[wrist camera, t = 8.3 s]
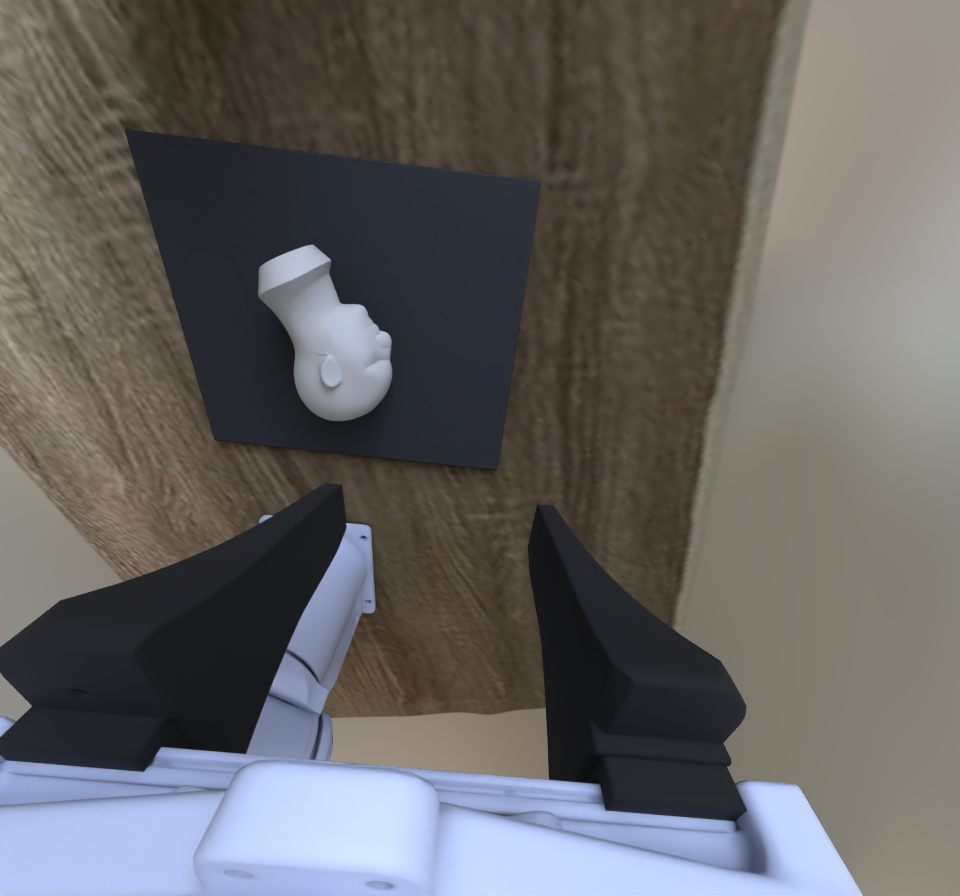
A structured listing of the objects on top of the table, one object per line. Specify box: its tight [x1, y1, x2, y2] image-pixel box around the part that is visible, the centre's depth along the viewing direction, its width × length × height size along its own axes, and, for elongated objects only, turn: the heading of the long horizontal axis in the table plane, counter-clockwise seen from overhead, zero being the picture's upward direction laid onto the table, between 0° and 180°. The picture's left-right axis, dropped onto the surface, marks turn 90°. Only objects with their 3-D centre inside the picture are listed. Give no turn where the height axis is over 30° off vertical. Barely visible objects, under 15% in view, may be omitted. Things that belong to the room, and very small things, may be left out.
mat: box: [125, 129, 541, 470], centre depth 19 cm, size 15×18×1 cm
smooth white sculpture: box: [258, 245, 392, 421], centre depth 17 cm, size 4×8×5 cm
